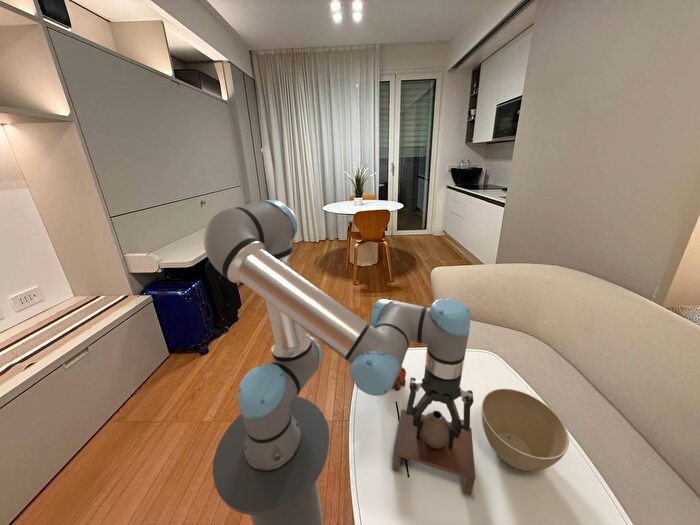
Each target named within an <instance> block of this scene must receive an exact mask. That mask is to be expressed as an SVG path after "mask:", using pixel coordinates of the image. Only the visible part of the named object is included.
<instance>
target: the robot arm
mask: <svg viewBox="0 0 700 525" xmlns="http://www.w3.org/2000/svg"><path fill="white" fill-rule="evenodd" d="M298 228H299V227H298V221H297V219H296V216H295V214H294V212H293V211H292V209H290V207H289V206H287V205H286V204H285V203H284V202H282V201H280V200H277V199H266V200H258V201H254V202H251V203H246V204H243V205H239V206H236V207H231V208H227V209H222V210H221V211H219V212H218V213H216V214H215V215H213V217H211V218H210V220H209V221H208V223H207V224H206V226H205V229H204V232H203V248H204V251H205V254H206V257H207V259H208V260H209V262H210V263H211V265H212V266H213V267H214V268H215V270H216V271H217V272H219V274H221V275H222V276H223V277H224V278H226V279H227V280H229V282H231V283H233V284H236V283H242V284H243V285H244V286H245V287H247V288H248V289H250V290H251V291H252V292H254V293H255V294H256V295H258V296H259V297H260V298H262V299H263V301H264V302H263V303H264V304H265V309H266V312H267V317H268V321H269V323H270V328H271V332H272V336H273V340H274V341H273V343H272V344H271V348H270V350H271V354H272V361H271V362H269V363H262V364H260V366H256V367H254V368H252V369H251V370H249V371H248V372H247V373H246V374H245V376H243V378H242V379H241V381H240V383H239V386H238V389H237V399H238V402H237V403H238V409H239V411H240V414H242V417H243V420H244V424H245V428H246V431H247V433H246V438H245V443H244V454H245V457H246V461H247V463H248V464H249V466H250V467H251V468H253V469H254V470H256V471H259V472H273V471H276V470H278V469H280V468H282V467H284V466H285V465H286V464H288V463H289V462H290V461H291V460H292V459H293V457H294V456H295V455H296V453H297V451H298V449H299V447H300V443H301V431H300V426H299V424H298V422H297V421H296V419H295V418H294V417H293V415H292V414H291V411H290V405H291V403H292V402H293V400H294V399H295V398H296V396H298V395H299V394H300V393H301V391H302V390H303V389H304V387H305V386H306V385H307V384H308V382H309V381H310V380H311V379H312V378H313V376H314V375H315V374H316V373H317V371H318V369H319V367H320V365H321V363H322V361H323V352H322V349H321V348H322V347H321V346H320V343H317V340H319V341H320V342H321V343H323V344H324V345H325V346H327V347H328V348H329V349H331V351H334V353H336V354H338V355H339V356H340V357H342V358H343V359H344V360H345V361H347V363H349V364H350V368H349V375H350V380H351V381H352V382H354V383H355V386H356V387H357V388H358V389H359V391H361V392H363V393H365V394H367V395H370V396H376V397H380V396H384V395H386V394H388V393H389V392H391V391H392V389H391V388H392V387H393V384H394V382H395V380H396V378H397V377H398V375H399V374H400V371H401V366H402V367H403V364H404V360H405V358H406V355H407V352H408V350H409V347H410V344H411V342H414V343H417V344H421V345H423V344H424V345H426V355H425V366H424V374H423V375H424V376H423V378H422V379H421V380H416V378H415V377H413V376H412V377H410V381H409V386H408V387H409V391H410V392H409V395H408V401H407V404H406V409H405V410H406V414H407V415H412V416H413V426H416V427H417V436H416V439H419V438H420V428H421V419H422V415H423V414H424V412H425V410H426V409H427V408H428V406H429V405H431V404H432V402H436V403H437V402H438V403H441V404H444V405H446V409H447V410H448V411H449V415H450V418H451V420H450V422H451V426H450V439H449V448H450V449H452V446H453V440H454V437H455V438H459V435H460V433H461V429H464V430H465V431H469V430H470V428H471V407H472V405H473V404H474V401H475V400H474V393H473V390H470V389H468V390H466V391H465V390H462V388H461V382H462V376H463V370H464V364H465V357H466V352H467V346H468V341H469V337H470V327H471V319H472V315H471V311H470V308H469V307H468V306H467V305H466V304H465V303H463V302H461V301H459V300H456V299H453V298H446V299H443V298H440V299H437V300H434V301H433V302H432V303H431V306H430V307H426V306H421V305H417V304H412V303H407V302H403V301H398V300H394V299H393V300H392V299H383V298H381V299H378V300H376V302H375V303H374V305H373V308H372V310H371V313H370V321H369V322H370V324H369V323H368V322H367V321H365V320H363V319H362V318H361V317H359V315H357V314H355V313H354V312H352V311H351V310H349V309H348V308H346V306H344V305H343V304H341V303H339V302H338V301H337V300H335V299H334V298H332V297H331V296H330V295H329V294H327V293H325V292H324V291H323V290H321V289H320V288H319V287H317V286H316V285H314V284H313V283H311V282H310V281H308V280H307V279H305V278H304V277H303V276H301V275H300V274H298V273H297V272H296V271H294V270H293V269H292V266H291V262H290V258H291V256H292V255H293V254H294V248H293V242H292V240H294V239H295V238H296V234H297V233H298ZM305 331H306V332H305ZM311 335H312V336H311ZM314 337H315V338H316V339H317V340H316V339H315V338H314ZM420 388H421V389H422V390H423V391H424V393H423V395H422V397H421V398H420V399H419V401H418V402H417V404H415V400H416V396H417V393H418V392H419V391H420ZM460 397H461V401H462V403H463V419H461V417H460V414H459V411H458V408H457V405H456V402H455V400H457V399H458V398H460Z"/></svg>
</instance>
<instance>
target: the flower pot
mask: <svg viewBox="0 0 700 525" xmlns="http://www.w3.org/2000/svg"><path fill="white" fill-rule="evenodd" d="M481 423H482V427H483V432H484V434H485V437H486V440H487V441H488V443H489V445H490V447H491V448H492V449H493V451H494V452H495V454H496V455H497V456H498V457H499V458H500V459H502V460H503V461H504V462H505V463H506V464H508V465H510V466H512V467H513V468H515V469H518V470H521V471H528V472H537V471H542V470H545V469H549V468H551V467H552V466H554V465H555V464H557V463H558V462H559V461H560V460H561V459H562V458H563V457H564V456H565V454H566V453H567V451H568V449H569V447H570V446H569V445H570V436H569V432H568V430H567V428H566V426H565V424H564V422H563V421H562V419H561V418H560V417H559V416H558V414H557V413H556V412H555V411H554V410H552V408H550V406H548V405H547V404H546V403H544V402H543V401H541V400H540V399H539V398H536V397H535V396H533V395H531V394H529V393H527V392H524V391H521V390H517V389H511V388H497V389H494V390H491V391H490V392H488V393H486V394H485V396H484V397H483V400H482V403H481Z"/></svg>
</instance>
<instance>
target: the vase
mask: <svg viewBox="0 0 700 525" xmlns="http://www.w3.org/2000/svg"><path fill="white" fill-rule="evenodd" d="M424 415H425V416H424V418H423V419H422V422H421V435H422V438H423V440H424V441H425V443H426V444H427V445H429V446H430V447H432V448H435V449H440V448H443V447H444V446H445V445H446V444H447V443H448V441H449V439H450V426H449V423H448V422H449V421H448V420H447V418H446V416H444V414H443V413H442V412H440V411H439V410H433V411H430V412H428V413H426V414H424Z"/></svg>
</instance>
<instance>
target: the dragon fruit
mask: <svg viewBox="0 0 700 525" xmlns="http://www.w3.org/2000/svg"><path fill="white" fill-rule="evenodd" d="M406 376H407V371H406V369H405V367H403V365H402V366H401V371H400V374H399V375H398V377H397V378H396V380H395V382H394V384H393V387H392V388H391V390H393V389H394V391H395V392H400V391H401V389H402V388H405V387H406V383H407V382H406V381H407V380H406Z"/></svg>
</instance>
